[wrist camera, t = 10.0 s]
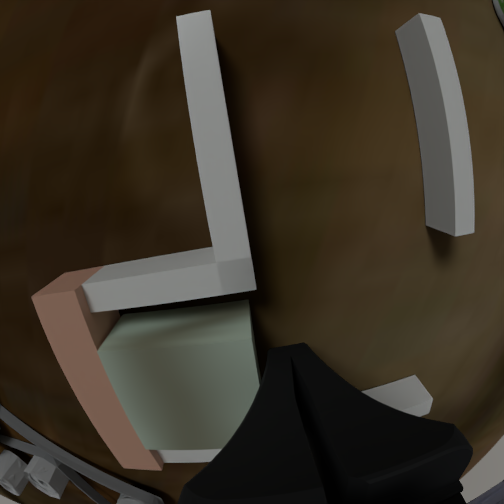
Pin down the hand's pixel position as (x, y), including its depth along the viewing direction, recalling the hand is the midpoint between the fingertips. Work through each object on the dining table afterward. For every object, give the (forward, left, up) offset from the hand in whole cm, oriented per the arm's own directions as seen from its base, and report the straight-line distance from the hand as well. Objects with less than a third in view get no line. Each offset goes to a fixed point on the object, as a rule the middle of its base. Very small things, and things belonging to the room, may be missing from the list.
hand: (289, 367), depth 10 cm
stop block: (+7, 0, -1) cm, 7 cm away
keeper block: (+4, 0, -2) cm, 4 cm away
